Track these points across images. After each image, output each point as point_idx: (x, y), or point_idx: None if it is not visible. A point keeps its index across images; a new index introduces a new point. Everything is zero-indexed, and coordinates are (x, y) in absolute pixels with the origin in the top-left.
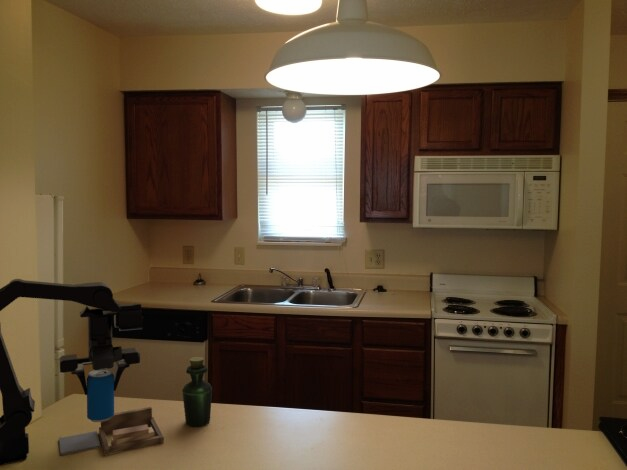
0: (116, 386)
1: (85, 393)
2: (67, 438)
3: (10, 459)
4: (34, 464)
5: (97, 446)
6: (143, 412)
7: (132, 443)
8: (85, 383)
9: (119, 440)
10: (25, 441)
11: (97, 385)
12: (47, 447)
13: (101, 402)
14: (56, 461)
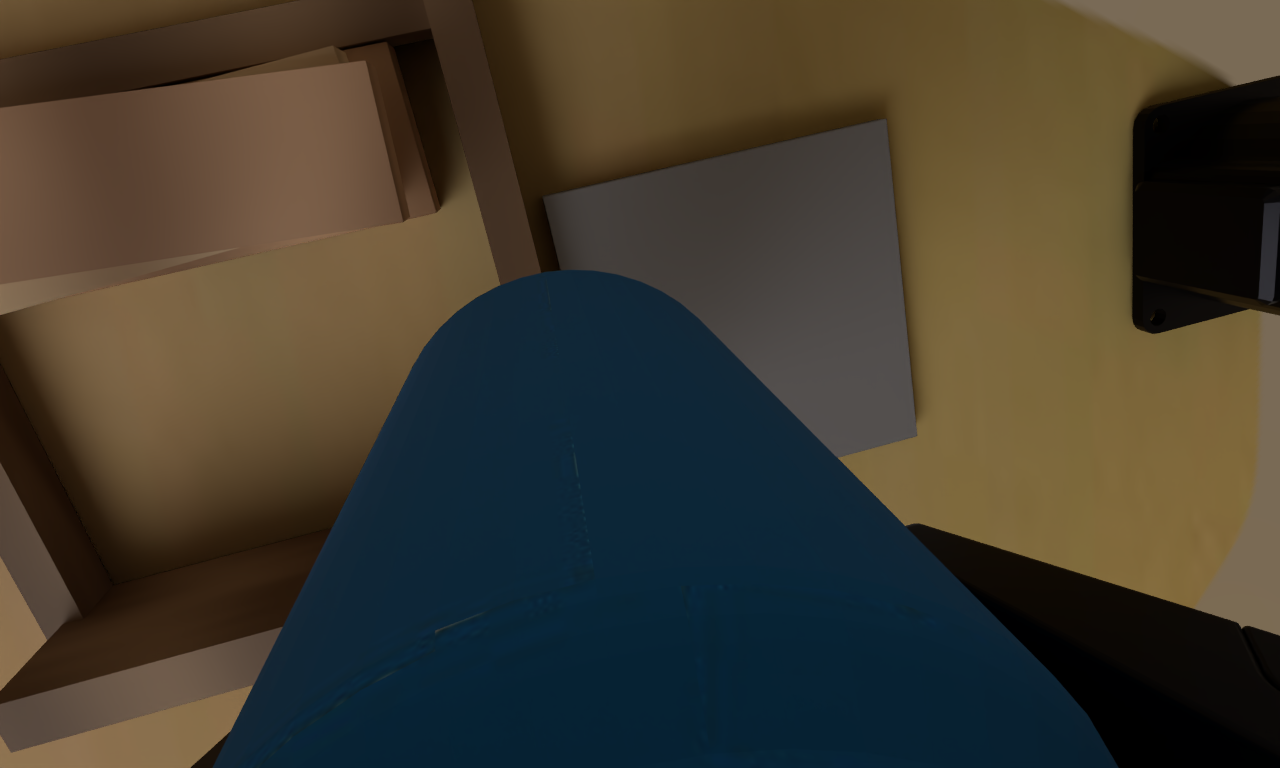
0: (207, 765)
1: (931, 529)
2: (852, 415)
3: (1262, 98)
4: (1069, 6)
5: (570, 191)
6: (109, 656)
7: (153, 31)
8: (1122, 655)
9: (303, 57)
10: (1259, 180)
11: (712, 496)
12: (986, 316)
13: (548, 333)
14: (902, 3)
